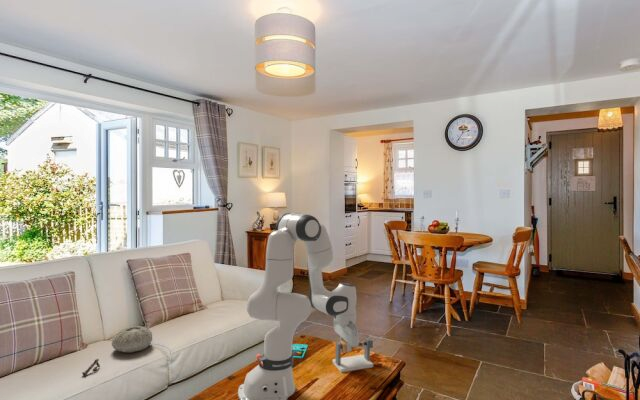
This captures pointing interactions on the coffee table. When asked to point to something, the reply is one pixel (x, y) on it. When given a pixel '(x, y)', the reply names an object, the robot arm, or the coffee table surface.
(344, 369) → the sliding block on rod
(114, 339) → the rock
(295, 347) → the handheld gaming console
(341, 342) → the marker sleeve
